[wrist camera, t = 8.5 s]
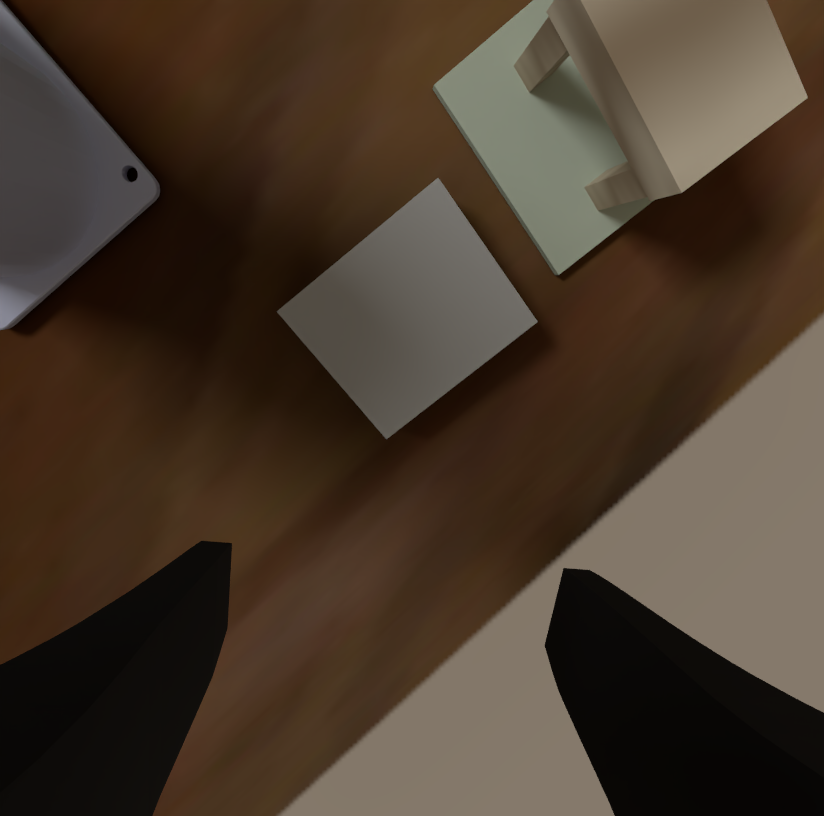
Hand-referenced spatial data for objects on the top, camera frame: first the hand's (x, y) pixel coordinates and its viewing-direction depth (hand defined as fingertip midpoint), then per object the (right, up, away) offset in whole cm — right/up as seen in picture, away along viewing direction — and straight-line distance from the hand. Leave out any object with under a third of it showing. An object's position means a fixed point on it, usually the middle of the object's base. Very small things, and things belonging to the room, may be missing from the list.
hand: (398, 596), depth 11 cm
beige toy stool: (+7, +15, +7) cm, 18 cm away
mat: (+7, +15, +7) cm, 18 cm away
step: (0, +8, +9) cm, 12 cm away
